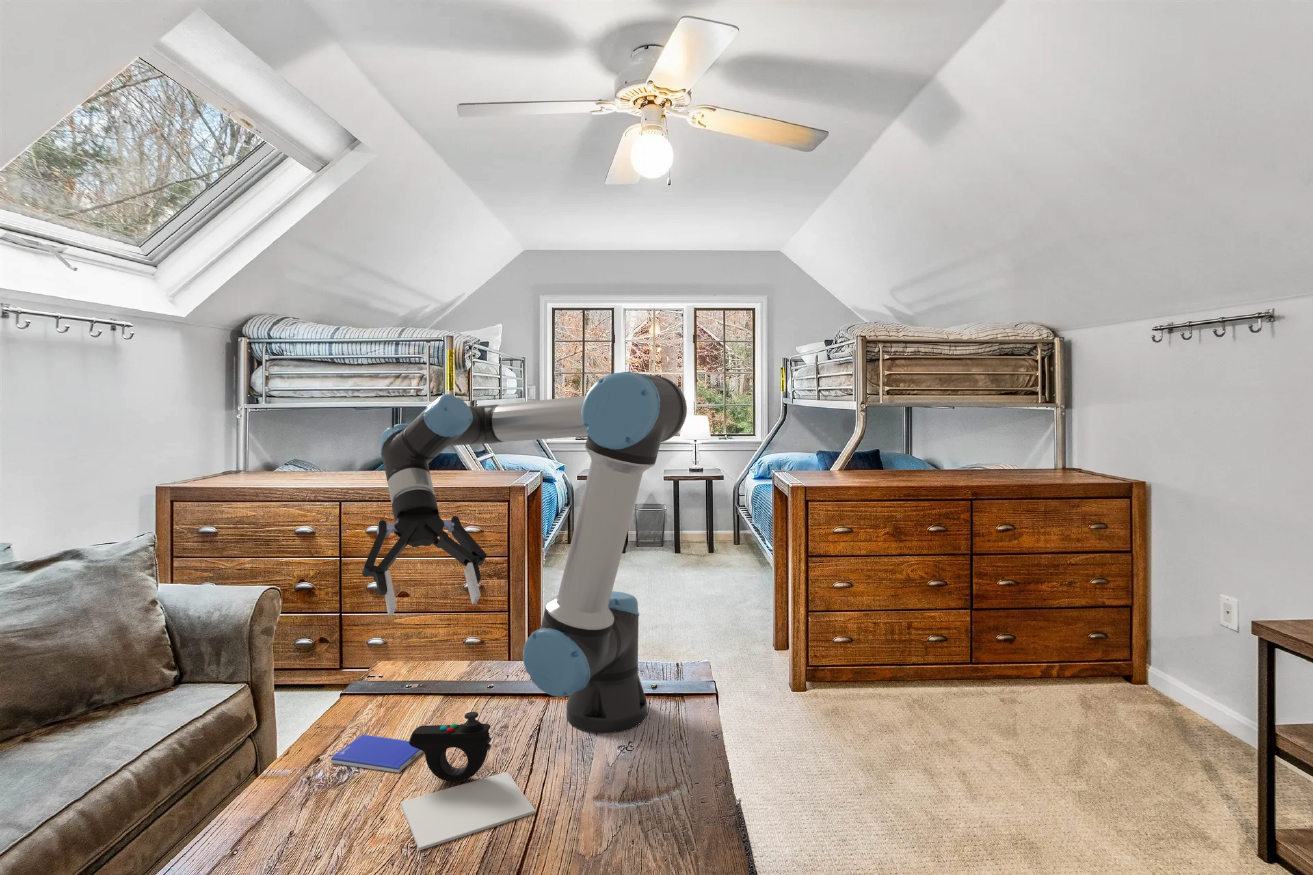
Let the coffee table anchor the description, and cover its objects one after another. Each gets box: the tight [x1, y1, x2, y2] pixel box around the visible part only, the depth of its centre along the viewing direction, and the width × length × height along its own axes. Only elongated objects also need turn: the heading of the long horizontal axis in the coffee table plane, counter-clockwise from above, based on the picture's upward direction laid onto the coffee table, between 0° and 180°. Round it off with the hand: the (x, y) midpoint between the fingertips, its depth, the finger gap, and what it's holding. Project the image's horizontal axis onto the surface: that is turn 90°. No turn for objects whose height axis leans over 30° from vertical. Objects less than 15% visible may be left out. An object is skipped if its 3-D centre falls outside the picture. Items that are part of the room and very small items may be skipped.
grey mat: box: [399, 771, 536, 851], centre depth 98 cm, size 16×12×1 cm
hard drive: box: [330, 734, 424, 774], centre depth 113 cm, size 2×8×12 cm
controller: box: [408, 711, 492, 783], centre depth 105 cm, size 4×12×10 cm, turn 87°
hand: (435, 605), depth 111 cm, fingers open, 13 cm apart
